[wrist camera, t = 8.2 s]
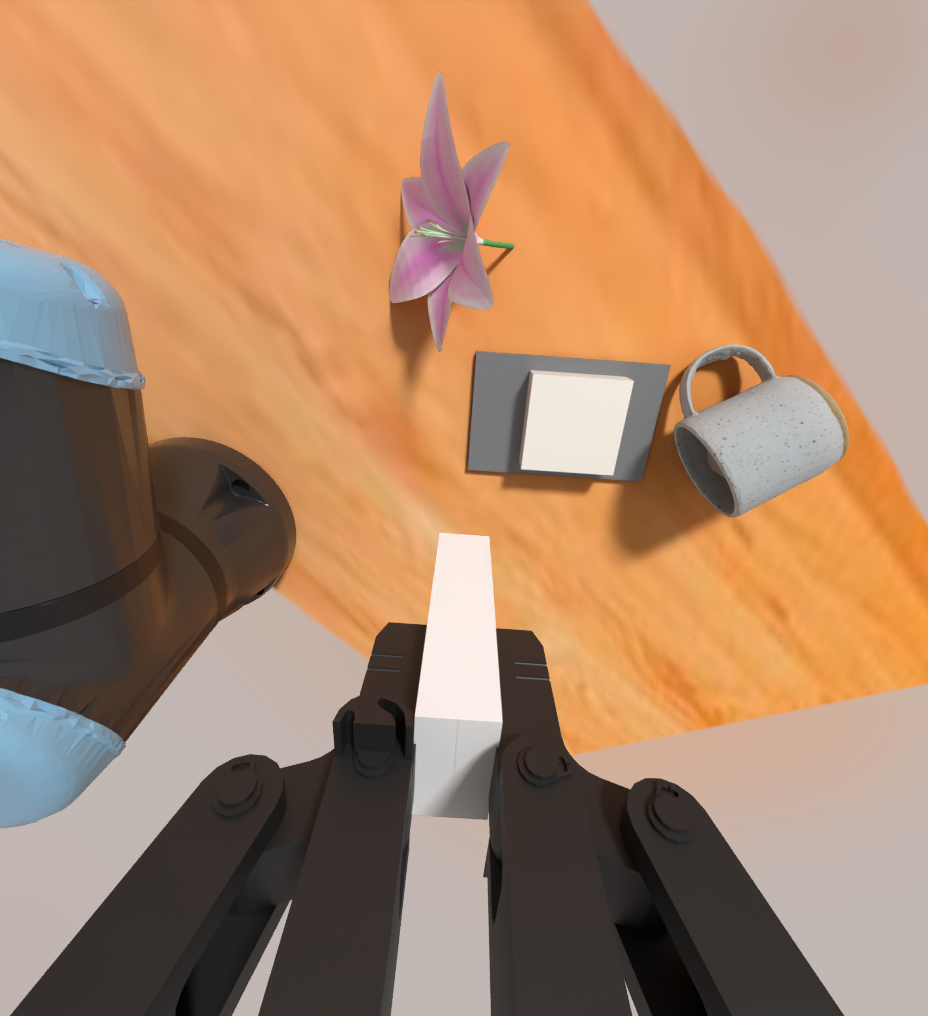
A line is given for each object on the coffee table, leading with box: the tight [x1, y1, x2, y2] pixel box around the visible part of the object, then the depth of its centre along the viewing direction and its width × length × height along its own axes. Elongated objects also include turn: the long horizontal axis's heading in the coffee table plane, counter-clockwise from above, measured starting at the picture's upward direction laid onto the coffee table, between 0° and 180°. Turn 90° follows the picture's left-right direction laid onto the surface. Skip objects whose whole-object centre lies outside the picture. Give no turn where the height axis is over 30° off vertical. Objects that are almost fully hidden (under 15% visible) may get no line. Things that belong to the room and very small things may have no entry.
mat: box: [468, 351, 671, 482], centre depth 34 cm, size 14×9×1 cm, turn 86°
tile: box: [519, 370, 634, 475], centre depth 33 cm, size 2×7×7 cm
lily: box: [389, 71, 514, 352], centre depth 27 cm, size 12×12×10 cm
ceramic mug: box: [674, 345, 849, 517], centre depth 31 cm, size 11×8×8 cm
